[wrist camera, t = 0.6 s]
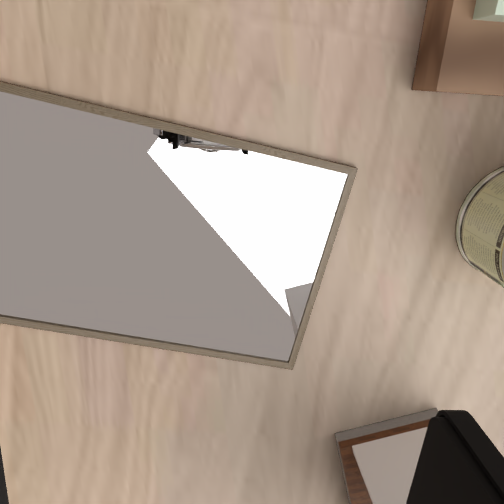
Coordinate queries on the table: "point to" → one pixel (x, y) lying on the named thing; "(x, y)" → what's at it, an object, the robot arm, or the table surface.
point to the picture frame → (160, 230)
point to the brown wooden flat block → (459, 51)
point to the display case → (382, 458)
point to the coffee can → (484, 227)
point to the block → (489, 10)
